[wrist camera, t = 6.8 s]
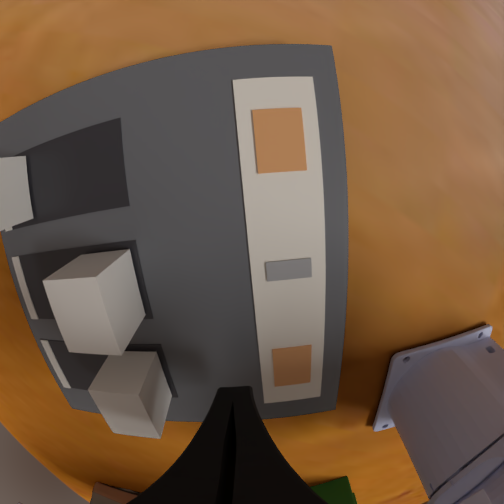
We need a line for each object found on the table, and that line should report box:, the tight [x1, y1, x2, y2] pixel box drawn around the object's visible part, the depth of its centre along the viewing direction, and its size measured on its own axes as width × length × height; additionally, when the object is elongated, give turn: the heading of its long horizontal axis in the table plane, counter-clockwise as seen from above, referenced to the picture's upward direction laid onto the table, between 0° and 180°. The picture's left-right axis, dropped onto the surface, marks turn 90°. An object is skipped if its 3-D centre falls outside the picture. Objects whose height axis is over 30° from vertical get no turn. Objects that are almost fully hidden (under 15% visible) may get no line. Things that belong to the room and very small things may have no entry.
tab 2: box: [88, 351, 172, 439], centre depth 11 cm, size 2×3×3 cm
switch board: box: [0, 44, 348, 422], centre depth 12 cm, size 17×18×2 cm
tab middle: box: [43, 249, 146, 355], centre depth 10 cm, size 2×3×3 cm
